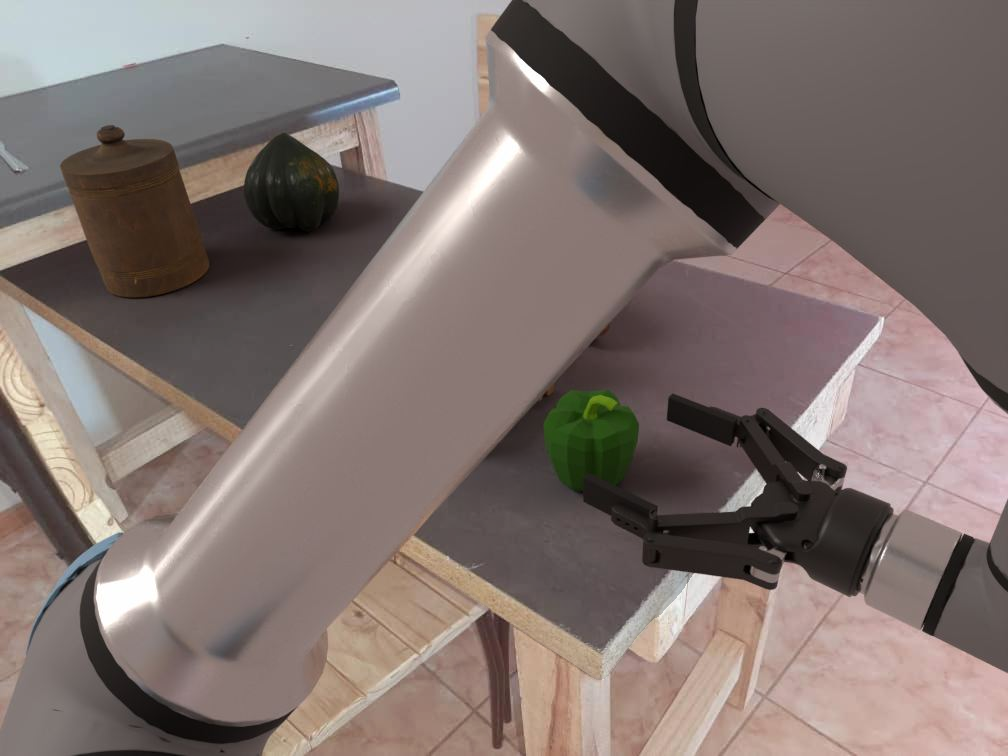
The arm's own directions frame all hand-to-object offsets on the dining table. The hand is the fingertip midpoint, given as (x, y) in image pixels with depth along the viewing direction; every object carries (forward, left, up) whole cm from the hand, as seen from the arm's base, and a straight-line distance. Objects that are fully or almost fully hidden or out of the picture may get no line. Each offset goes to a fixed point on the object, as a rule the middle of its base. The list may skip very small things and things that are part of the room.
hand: (629, 444), depth 69 cm
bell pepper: (0, +4, -6) cm, 7 cm away
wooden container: (-1, +81, -6) cm, 81 cm away
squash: (+23, +78, -6) cm, 82 cm away
